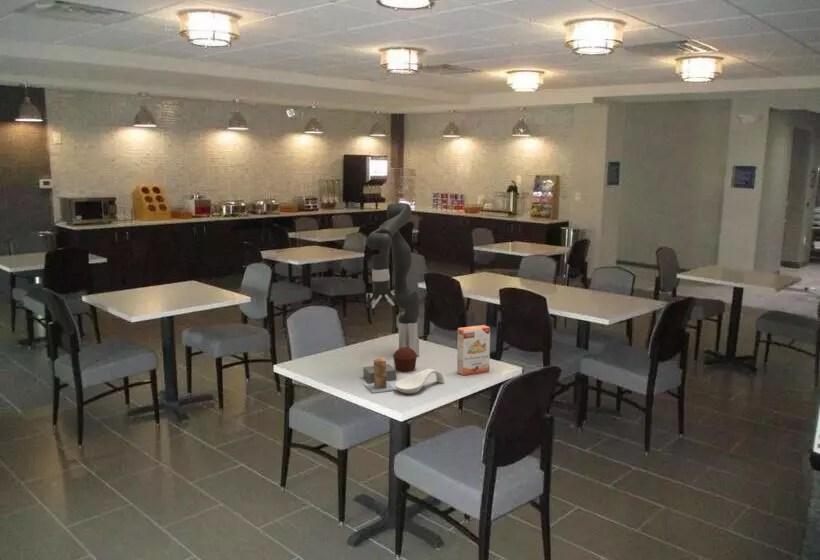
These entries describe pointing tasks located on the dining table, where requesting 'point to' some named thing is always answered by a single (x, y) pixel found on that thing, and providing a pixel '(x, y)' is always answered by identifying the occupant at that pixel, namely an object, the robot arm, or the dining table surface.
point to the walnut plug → (380, 373)
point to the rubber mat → (375, 390)
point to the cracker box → (473, 350)
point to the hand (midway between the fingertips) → (382, 314)
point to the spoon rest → (417, 381)
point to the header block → (369, 373)
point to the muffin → (405, 359)
